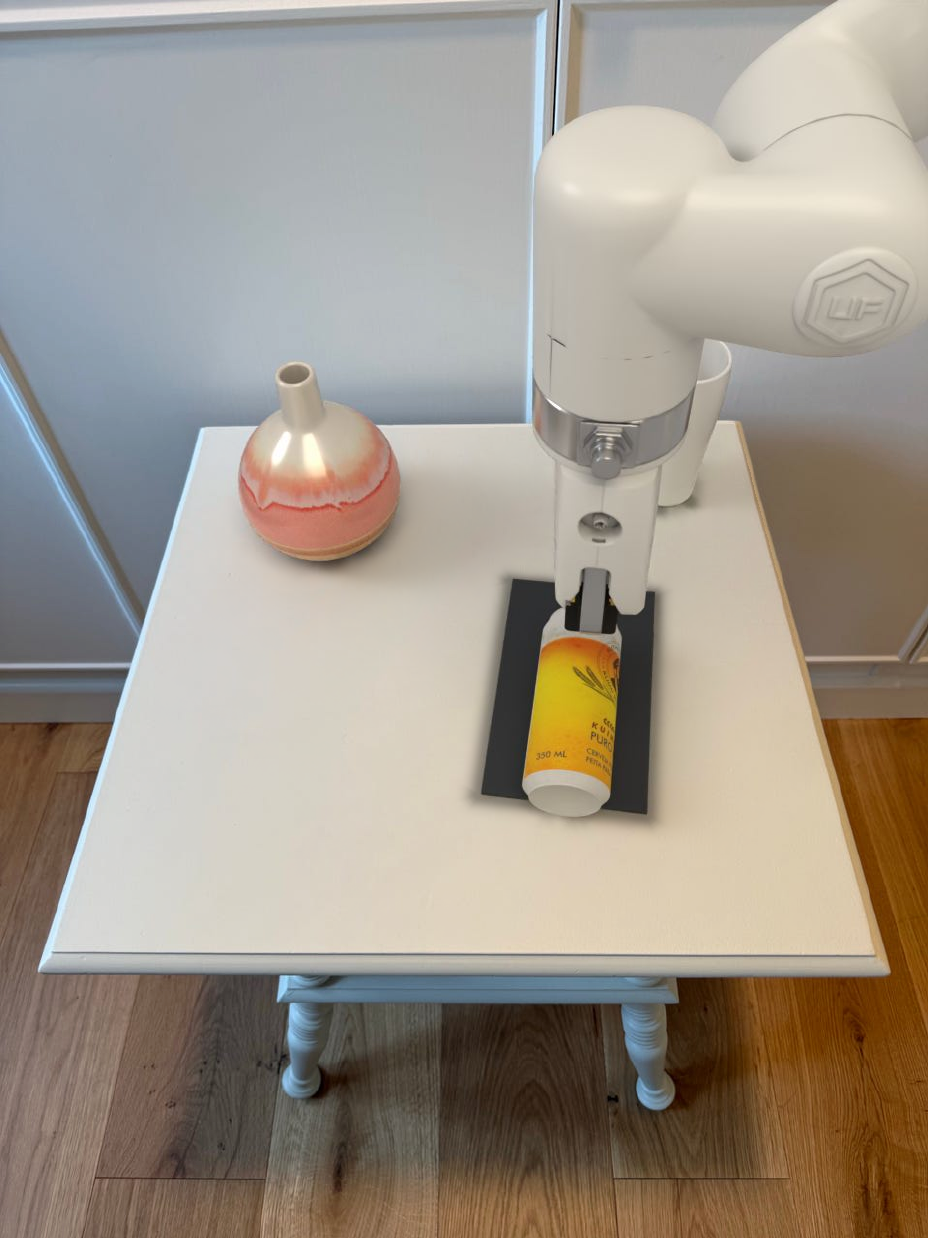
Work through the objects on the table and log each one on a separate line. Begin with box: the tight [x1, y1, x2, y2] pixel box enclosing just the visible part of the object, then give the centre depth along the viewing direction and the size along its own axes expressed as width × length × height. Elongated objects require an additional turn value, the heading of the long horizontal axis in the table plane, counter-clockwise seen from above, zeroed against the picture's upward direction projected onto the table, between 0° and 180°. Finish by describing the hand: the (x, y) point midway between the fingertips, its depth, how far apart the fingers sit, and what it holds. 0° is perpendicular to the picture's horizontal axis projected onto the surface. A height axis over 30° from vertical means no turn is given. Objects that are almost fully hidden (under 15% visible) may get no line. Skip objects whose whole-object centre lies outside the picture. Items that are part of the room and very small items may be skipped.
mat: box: [480, 578, 656, 815], centre depth 72 cm, size 12×20×1 cm, turn 172°
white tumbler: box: [658, 338, 733, 507], centre depth 79 cm, size 7×7×15 cm
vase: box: [237, 360, 402, 562], centre depth 76 cm, size 14×14×18 cm
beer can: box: [522, 608, 622, 818], centre depth 68 cm, size 6×6×15 cm
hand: (590, 622), depth 59 cm, fingers closed
